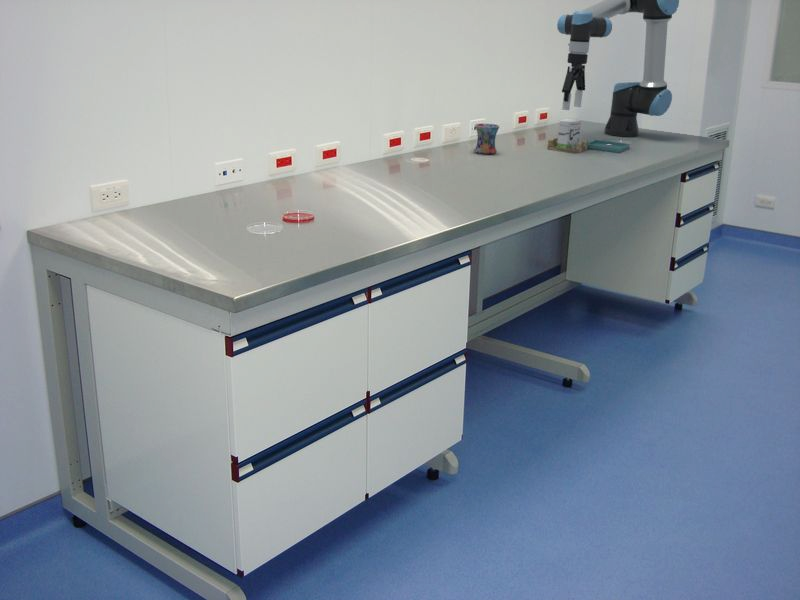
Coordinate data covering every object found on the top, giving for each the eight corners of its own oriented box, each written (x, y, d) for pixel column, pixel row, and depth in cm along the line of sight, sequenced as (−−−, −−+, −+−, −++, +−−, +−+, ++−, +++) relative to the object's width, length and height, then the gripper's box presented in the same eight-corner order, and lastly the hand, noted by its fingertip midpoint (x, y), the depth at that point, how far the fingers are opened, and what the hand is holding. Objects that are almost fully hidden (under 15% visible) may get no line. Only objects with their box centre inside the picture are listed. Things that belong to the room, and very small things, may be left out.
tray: (594, 143, 357) (594, 139, 356) (629, 148, 350) (629, 144, 349) (583, 148, 346) (584, 143, 345) (619, 153, 339) (620, 148, 338)
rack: (557, 145, 350) (558, 136, 349) (587, 149, 344) (588, 140, 343) (547, 149, 340) (547, 140, 338) (577, 153, 334) (578, 144, 333)
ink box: (566, 151, 337) (569, 121, 333) (556, 149, 341) (559, 119, 336) (578, 149, 343) (581, 120, 339) (568, 147, 346) (571, 118, 342)
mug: (490, 156, 320) (492, 128, 317) (468, 152, 325) (470, 125, 321) (504, 152, 330) (507, 124, 326) (484, 148, 335) (486, 121, 331)
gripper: (579, 51, 341) (573, 104, 348) (557, 53, 320) (551, 110, 327) (597, 52, 337) (590, 106, 344) (576, 55, 317) (570, 112, 324)
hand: (571, 108), depth 336 cm, fingers open, 13 cm apart
